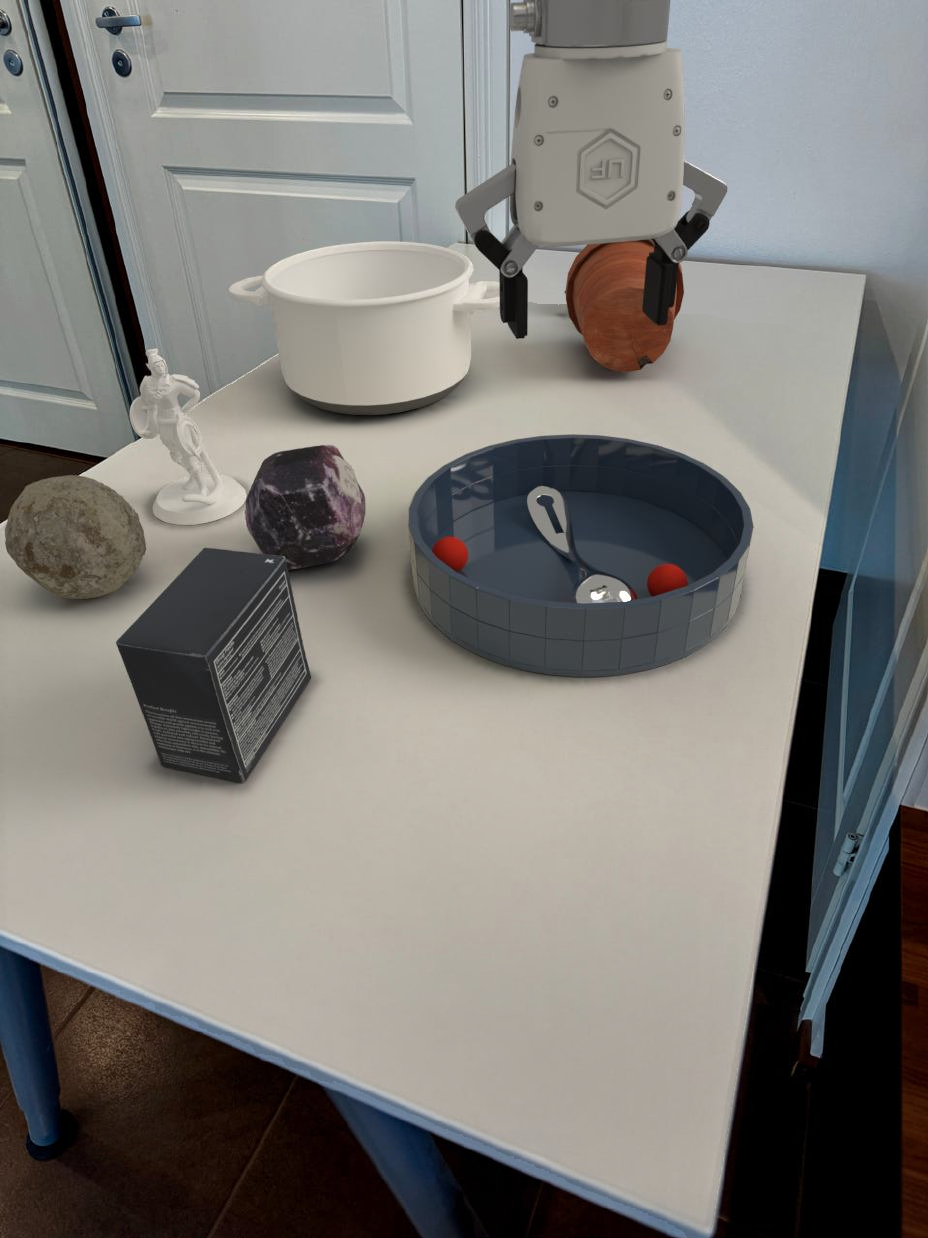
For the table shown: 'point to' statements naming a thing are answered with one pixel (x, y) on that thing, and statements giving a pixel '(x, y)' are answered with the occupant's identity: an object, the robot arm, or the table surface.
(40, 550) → the decorative stone
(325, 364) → the pot
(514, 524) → the bowl
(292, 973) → the table surface
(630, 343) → the potted plant
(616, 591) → the metal spoon
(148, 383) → the figurine
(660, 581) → the tomato
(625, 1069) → the table surface
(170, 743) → the small box
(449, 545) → the tomato
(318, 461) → the mineral specimen
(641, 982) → the table surface
